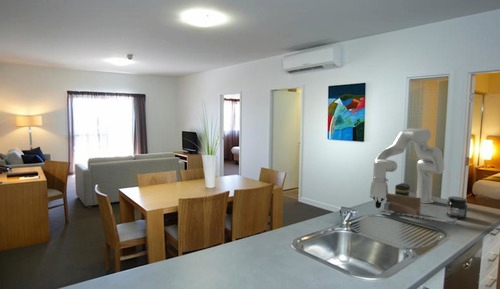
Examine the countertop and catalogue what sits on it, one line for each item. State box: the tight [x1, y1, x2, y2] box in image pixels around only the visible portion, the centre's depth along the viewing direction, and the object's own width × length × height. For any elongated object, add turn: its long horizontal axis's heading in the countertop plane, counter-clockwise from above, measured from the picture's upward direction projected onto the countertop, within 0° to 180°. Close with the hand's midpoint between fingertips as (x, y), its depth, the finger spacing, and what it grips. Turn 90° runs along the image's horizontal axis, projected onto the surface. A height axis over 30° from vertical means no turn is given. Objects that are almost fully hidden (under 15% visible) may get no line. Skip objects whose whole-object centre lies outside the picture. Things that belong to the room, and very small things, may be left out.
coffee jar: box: [394, 182, 411, 196], centre depth 203 cm, size 10×8×19 cm
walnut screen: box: [383, 192, 422, 216], centre depth 193 cm, size 10×20×11 cm, turn 53°
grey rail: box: [378, 204, 458, 225], centre depth 192 cm, size 3×43×3 cm, turn 53°
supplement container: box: [446, 196, 468, 220], centre depth 192 cm, size 10×10×12 cm
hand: (378, 207), depth 199 cm, fingers closed
